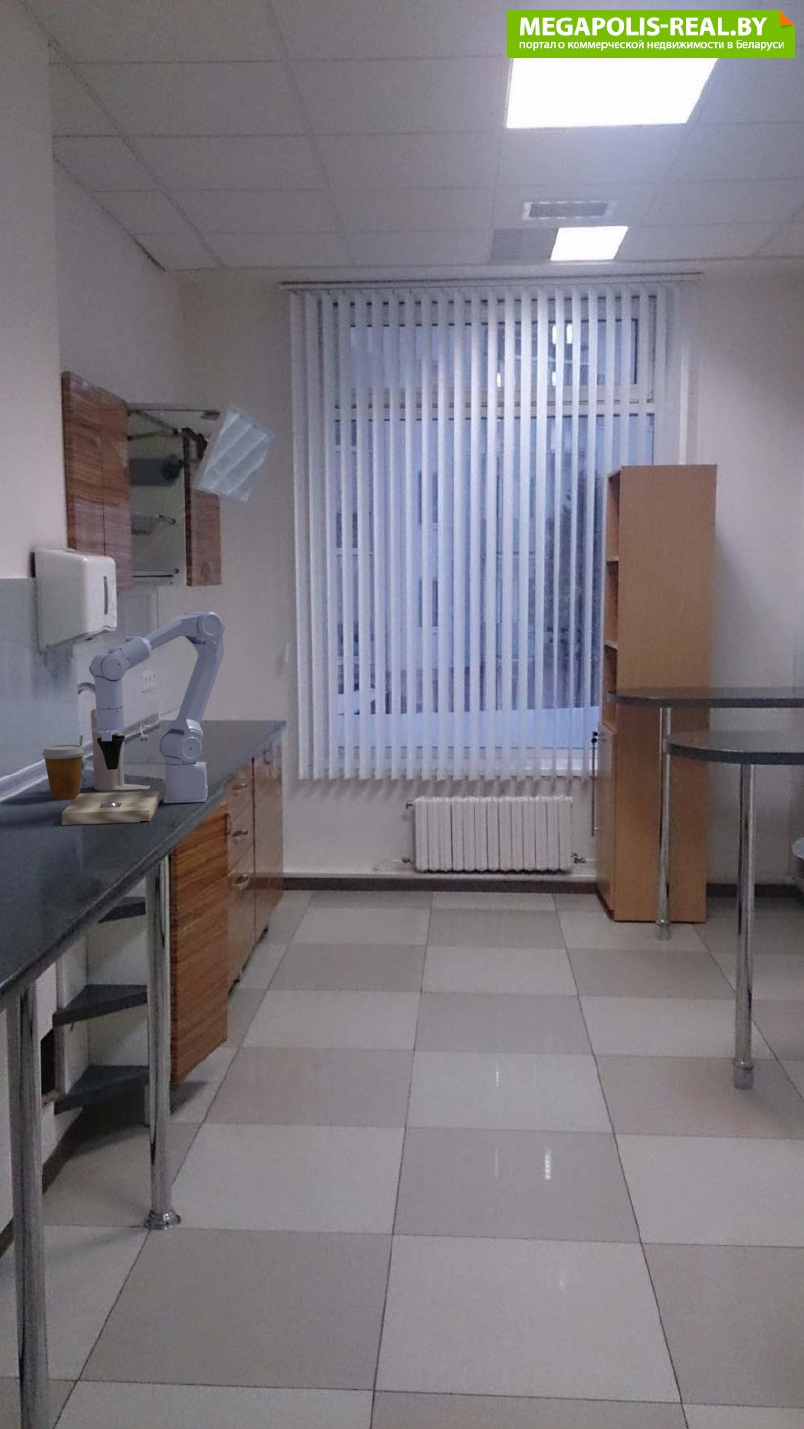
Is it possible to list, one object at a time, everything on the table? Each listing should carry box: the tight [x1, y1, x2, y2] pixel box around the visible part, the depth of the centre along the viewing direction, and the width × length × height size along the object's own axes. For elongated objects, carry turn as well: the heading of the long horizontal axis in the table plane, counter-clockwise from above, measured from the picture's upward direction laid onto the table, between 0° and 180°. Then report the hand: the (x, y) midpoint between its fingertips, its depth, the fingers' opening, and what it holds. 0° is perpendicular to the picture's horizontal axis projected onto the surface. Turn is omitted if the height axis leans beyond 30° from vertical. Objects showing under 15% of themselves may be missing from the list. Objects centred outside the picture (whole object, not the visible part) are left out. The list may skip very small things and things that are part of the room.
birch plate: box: [61, 790, 161, 826], centre depth 250 cm, size 18×22×2 cm
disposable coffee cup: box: [41, 744, 85, 801], centre depth 269 cm, size 10×10×12 cm
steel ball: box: [102, 801, 118, 808], centre depth 245 cm, size 4×4×4 cm
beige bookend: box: [90, 708, 151, 792], centre depth 279 cm, size 7×14×20 cm, turn 88°
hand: (112, 769), depth 251 cm, fingers closed
